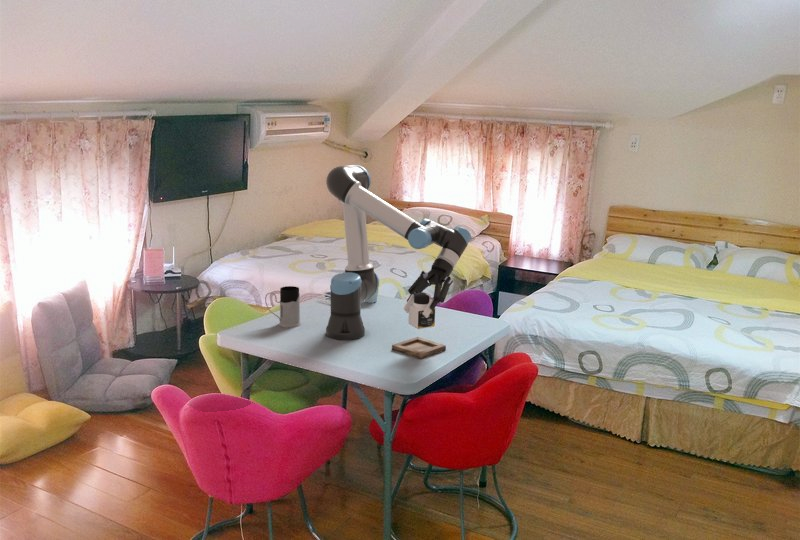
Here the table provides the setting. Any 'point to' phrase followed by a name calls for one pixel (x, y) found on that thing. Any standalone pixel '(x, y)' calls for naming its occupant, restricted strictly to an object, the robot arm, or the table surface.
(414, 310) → the medicine bottle
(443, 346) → the coaster tray
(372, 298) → the cup
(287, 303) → the black and white mug
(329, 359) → the table surface
